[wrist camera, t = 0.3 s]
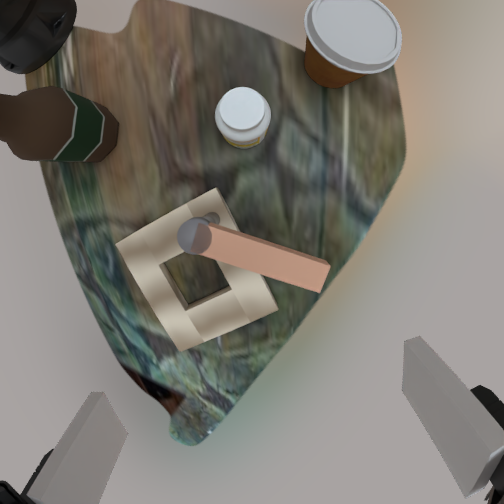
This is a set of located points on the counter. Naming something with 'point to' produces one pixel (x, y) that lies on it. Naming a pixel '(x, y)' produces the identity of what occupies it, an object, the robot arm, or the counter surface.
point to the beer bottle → (56, 126)
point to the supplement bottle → (243, 117)
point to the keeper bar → (252, 253)
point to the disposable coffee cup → (349, 40)
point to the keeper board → (167, 292)
